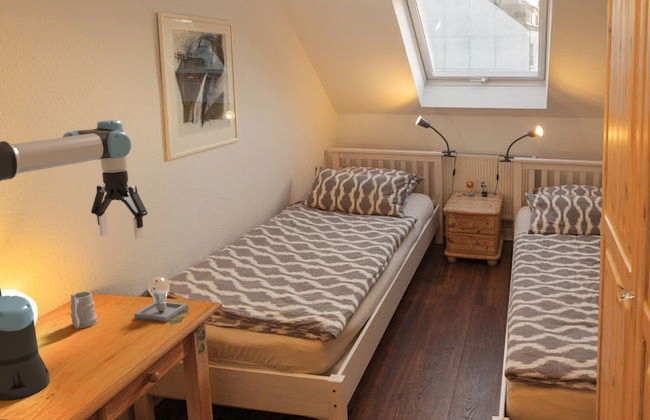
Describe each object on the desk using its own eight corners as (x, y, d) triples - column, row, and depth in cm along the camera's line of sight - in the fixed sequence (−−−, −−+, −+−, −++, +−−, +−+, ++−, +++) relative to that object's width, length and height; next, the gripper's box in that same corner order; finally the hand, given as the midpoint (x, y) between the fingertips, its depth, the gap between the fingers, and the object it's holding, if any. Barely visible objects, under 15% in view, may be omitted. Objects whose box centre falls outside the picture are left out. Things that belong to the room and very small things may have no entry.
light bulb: (165, 306, 234) (161, 272, 232) (176, 310, 229) (172, 276, 227) (146, 312, 230) (142, 277, 227) (157, 317, 225) (153, 281, 222)
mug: (101, 319, 228) (96, 284, 225) (87, 333, 216) (82, 296, 214) (78, 319, 228) (73, 284, 226) (63, 334, 217) (58, 297, 214)
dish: (166, 322, 222) (166, 317, 221) (134, 318, 226) (134, 313, 226) (188, 308, 233) (187, 303, 232) (157, 305, 237) (156, 300, 237)
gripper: (154, 169, 215) (161, 236, 219) (91, 167, 225) (98, 231, 229) (139, 173, 208) (146, 241, 213) (75, 171, 218) (82, 237, 223)
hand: (121, 236), depth 221 cm, fingers open, 13 cm apart
